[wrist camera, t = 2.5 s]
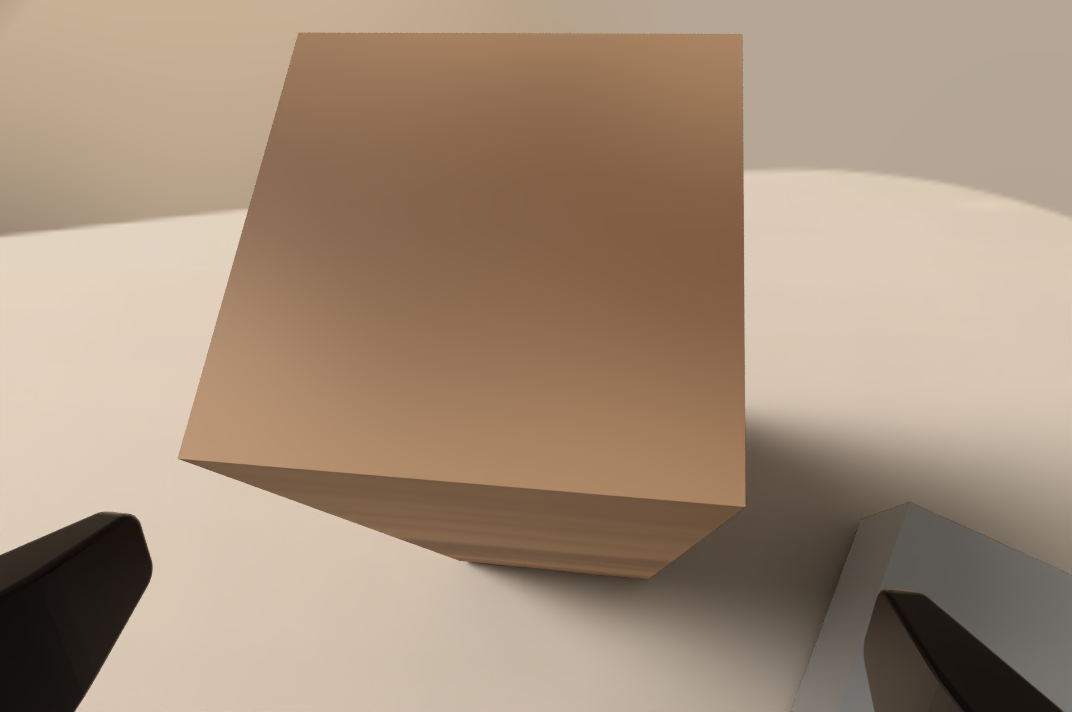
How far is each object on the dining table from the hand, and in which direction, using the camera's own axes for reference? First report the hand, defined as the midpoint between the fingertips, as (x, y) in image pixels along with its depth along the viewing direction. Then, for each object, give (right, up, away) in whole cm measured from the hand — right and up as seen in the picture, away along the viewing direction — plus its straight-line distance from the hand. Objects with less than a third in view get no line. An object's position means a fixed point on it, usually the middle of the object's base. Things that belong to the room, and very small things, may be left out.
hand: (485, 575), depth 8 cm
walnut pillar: (+1, -1, +11) cm, 11 cm away
